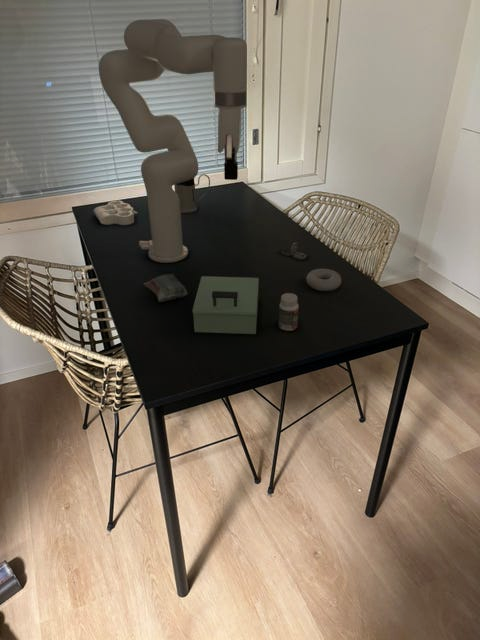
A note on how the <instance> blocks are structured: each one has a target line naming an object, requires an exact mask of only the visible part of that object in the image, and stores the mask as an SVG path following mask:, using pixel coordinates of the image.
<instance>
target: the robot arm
mask: <svg viewBox="0 0 480 640" xmlns="http://www.w3.org/2000/svg"><path fill="white" fill-rule="evenodd" d="M123 41H124V44H125V46H126V48H123V49H116V50H110V51H108V52H106V53H104V54H103V55H102V56H101V57H100V59H99V62H98V76H99V79H100V82H101V83H100V84H101V86H102V88H103V90H104V92H105V94H106V95H107V97H108V98H109V100H110V101H111V103H112V104H113V105H114V107H115V109H116V110H117V112H118V114H119V117H120V119H121V121H122V123H123V126H124V127H125V129H126V133H127V134H128V136H129V138H130V140H131V143H132V144H133V146H134V148H135V149H136V150H137V151H138V152H140V153H152V152H153V153H154V152H157V151H161V152H158V153H154V154H151V155H149V156H146V157H145V158H144V159H143V161H142V162H141V165H140V171H141V172H140V174H141V177H142V180H143V184H144V187H145V192H146V198H147V199H146V200H147V207H148V215H149V226H150V234H151V239H149V240H139V242H138V246H139V247H140V248H141V250H145V251H146V250H148V252H147V253H148V258H149V259H150V260H152V261H154V262H158V263H162V264H163V263H164V264H166V263H167V264H169V263H176V262H179V261H182V260H184V259H186V257H188V255H189V249H188V247H186V246H185V245H184V244H183V227H182V213H181V212H180V201H179V197H178V196H177V194H176V193H175V189H173V186H174V185H175V184H178V183H181V182H185V181H189V180H191V179H193V178H194V179H195V178H196V177H197V176H198V173H199V162H198V157H197V155H196V153H195V151H194V149H193V147H192V144H191V142H190V139H189V136H188V135H187V132H186V131H185V128H184V126H183V124H182V122H181V121H180V120H179V118H177V117H176V116H175V115H173V114H170V113H163V114H153V113H152V111H151V110H150V107H149V105H148V103H147V101H146V99H145V98H144V97H143V95H142V94H141V93H140V92H139V91H138V90H136V89H135V88H134V87H132V86H131V84H137V83H144V82H145V83H146V82H153V81H155V80H157V79H159V78H160V77H161V76H162V74H163V73H164V71H168V72H173V73H176V74H180V75H195V74H203V73H204V74H205V73H213V107H214V108H215V109H216V108H217V109H218V112H217V116H218V117H217V153H219V154H221V153H222V152H223V151H224V163H223V166H224V167H223V169H224V170H223V172H224V174H223V175H224V180H226V181H227V180H228V181H237V180H238V177H239V168H238V167H239V162H238V152H239V150H240V147H241V138H242V118H243V117H242V116H243V115H242V110H243V109H245V108H246V107H248V103H247V101H248V92H247V91H248V44H247V42H246V40H245V39H244V38H240V37H226V36H223V35H220V34H203V35H200V34H199V35H187V36H186V35H185V36H184V35H183V36H182V34H181V32H180V31H179V29H178V28H177V27H176V25H175V23H173V22H172V21H170V20H168V19H164V18H157V19H154V18H153V19H137V20H133V21H132V22H130V23H129V24H128V25H127V26H126V27H125V29H124V33H123ZM162 150H164V151H162ZM165 150H166V151H165Z"/></svg>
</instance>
